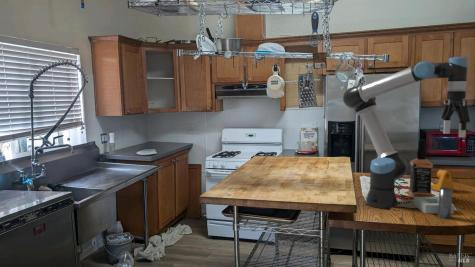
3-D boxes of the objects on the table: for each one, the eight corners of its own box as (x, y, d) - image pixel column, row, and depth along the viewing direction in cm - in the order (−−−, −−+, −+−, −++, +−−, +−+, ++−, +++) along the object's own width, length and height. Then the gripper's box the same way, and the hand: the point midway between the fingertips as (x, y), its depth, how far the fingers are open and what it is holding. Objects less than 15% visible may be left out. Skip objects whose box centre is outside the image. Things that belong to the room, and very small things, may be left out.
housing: (424, 215, 169) (425, 205, 168) (413, 206, 182) (413, 196, 181) (453, 215, 168) (454, 205, 168) (439, 206, 181) (440, 196, 181)
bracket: (441, 187, 216) (442, 167, 214) (453, 190, 209) (454, 170, 208) (428, 189, 212) (429, 169, 210) (439, 192, 205) (441, 172, 204)
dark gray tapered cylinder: (441, 220, 162) (443, 190, 160) (435, 216, 167) (437, 187, 165) (452, 221, 162) (454, 190, 160) (447, 217, 167) (448, 187, 165)
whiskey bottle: (407, 194, 202) (410, 138, 198) (427, 195, 200) (430, 138, 196) (411, 200, 192) (414, 140, 188) (432, 201, 190) (435, 141, 186)
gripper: (481, 90, 157) (477, 138, 160) (450, 90, 182) (448, 132, 184) (463, 90, 157) (460, 138, 160) (435, 90, 182) (433, 132, 185)
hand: (453, 135), depth 172 cm, fingers open, 13 cm apart
